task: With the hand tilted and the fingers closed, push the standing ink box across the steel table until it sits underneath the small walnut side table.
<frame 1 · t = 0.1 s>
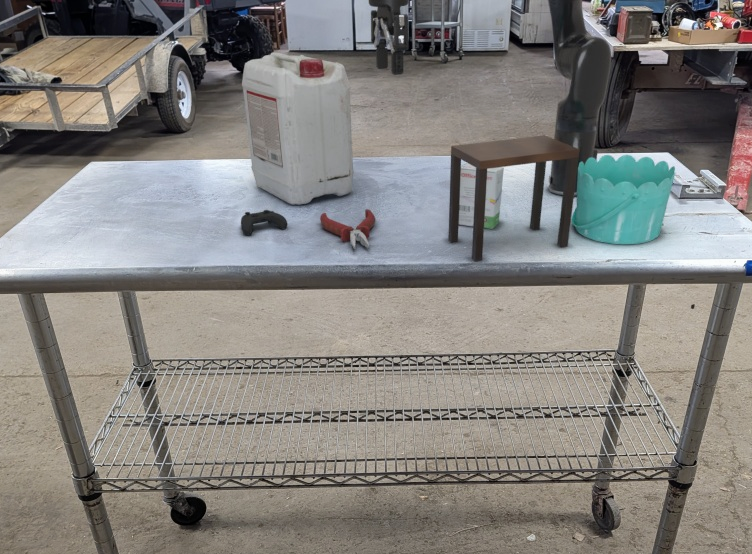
hand: (389, 71, 141), 29 cm above the table, tool pointing down, fingers open, 8 cm apart
ink box: (477, 224, 152), on the table
basket: (616, 231, 147), on the table
small table: (507, 243, 141), on the table
jerry can: (303, 191, 174), on the table
pliers: (345, 236, 147), on the table
gaming controller: (262, 229, 151), on the table
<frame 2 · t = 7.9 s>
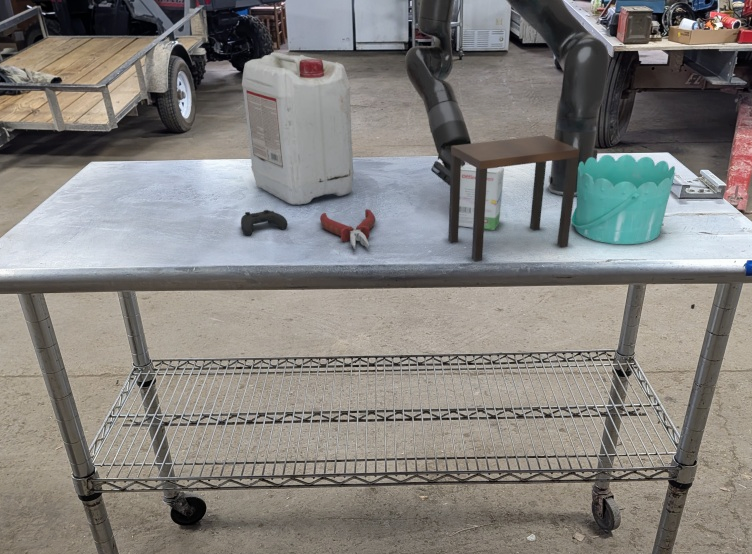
hand: (470, 200, 152), 4 cm above the table, tool tilted 45°, fingers closed
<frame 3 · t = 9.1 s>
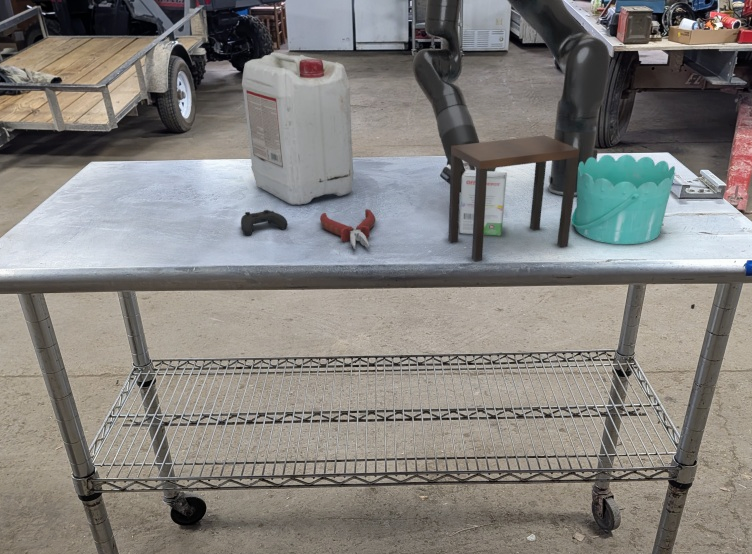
hand: (480, 207, 149), 4 cm above the table, tool tilted 45°, fingers closed
ink box: (481, 231, 148), on the table, touching gripper
everything else where it was.
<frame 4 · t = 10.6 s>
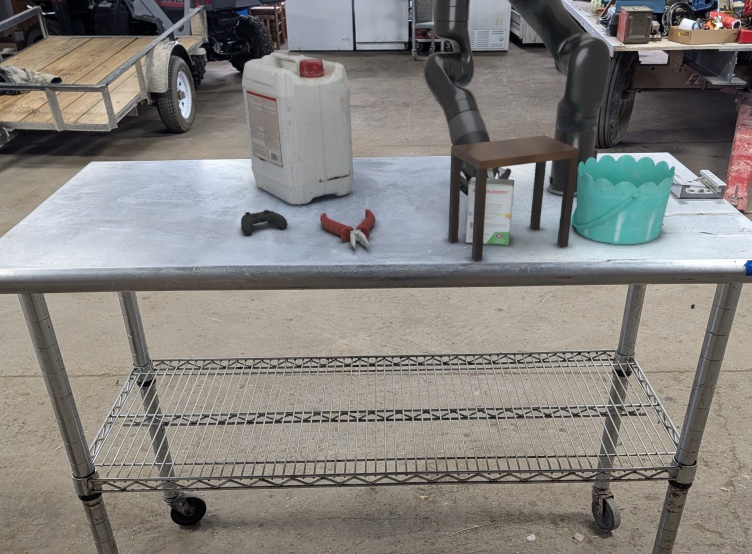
hand: (494, 215, 144), 4 cm above the table, tool tilted 45°, fingers closed
ink box: (487, 240, 143), on the table, touching gripper
everything else where it was.
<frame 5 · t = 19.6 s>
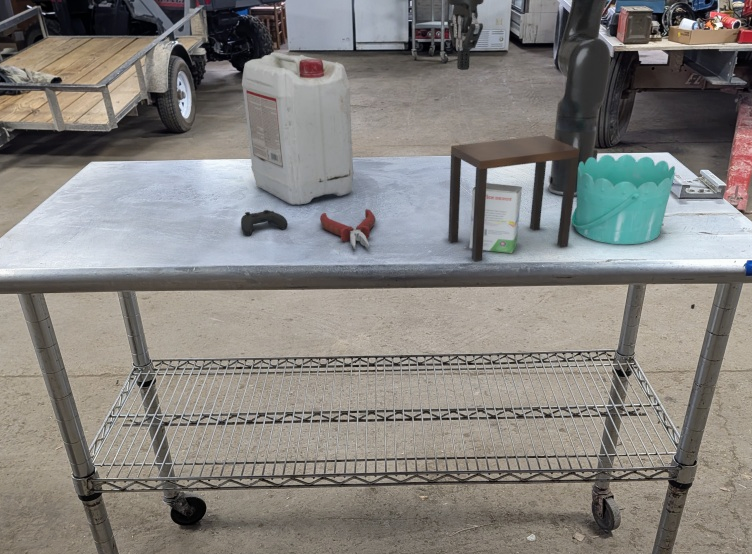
hand: (463, 69, 157), 27 cm above the table, tool pointing down, fingers closed
ink box: (493, 247, 140), on the table
everything else where it was.
at the end: ink box inside the target area on the small table (3.6 cm from its centre), point 0.0 cm above the small table's base; ink box tilted 0° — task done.
